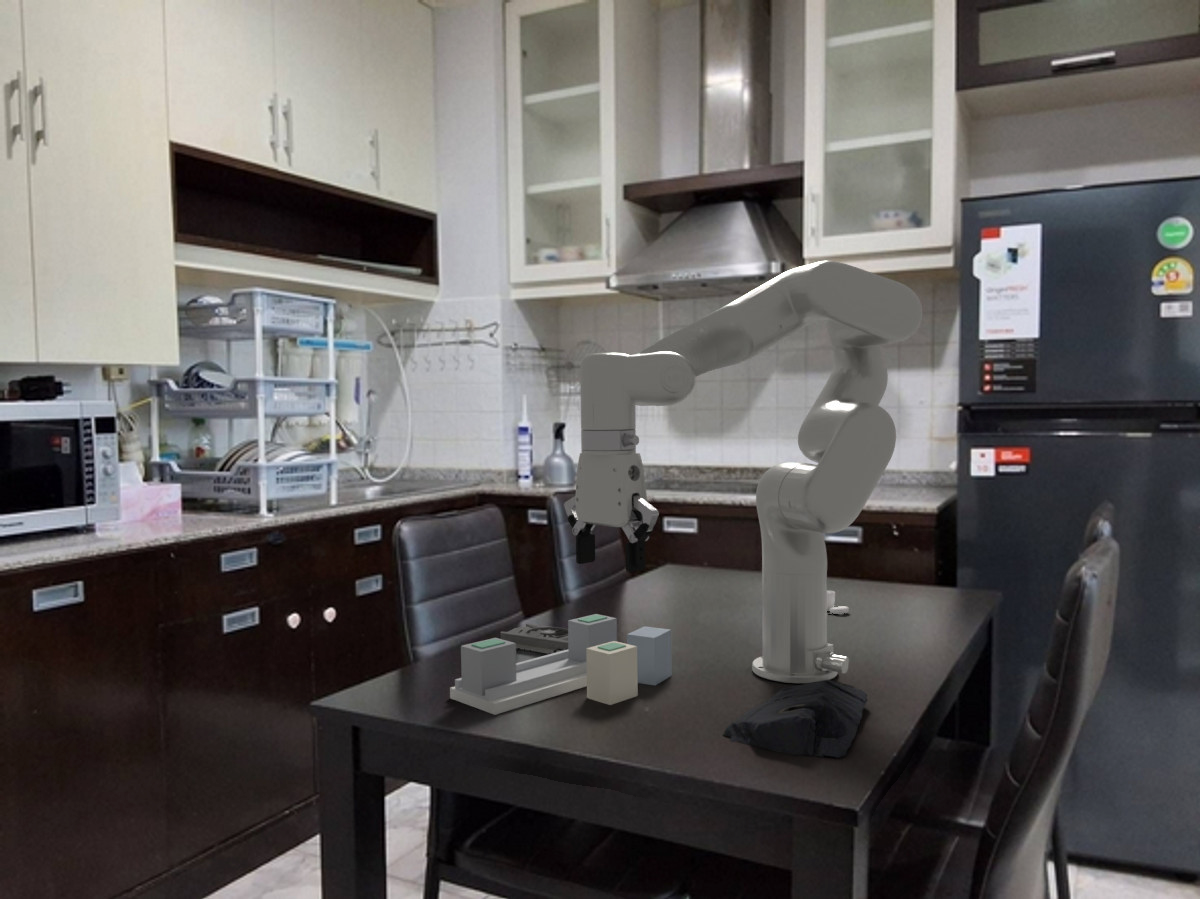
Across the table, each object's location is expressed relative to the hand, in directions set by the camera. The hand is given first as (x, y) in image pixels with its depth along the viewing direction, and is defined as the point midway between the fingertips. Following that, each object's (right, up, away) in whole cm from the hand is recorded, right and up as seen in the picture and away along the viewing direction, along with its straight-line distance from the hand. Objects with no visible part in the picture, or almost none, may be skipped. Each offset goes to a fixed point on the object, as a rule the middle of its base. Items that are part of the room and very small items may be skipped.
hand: (610, 566), depth 126 cm
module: (+6, -18, +9) cm, 21 cm away
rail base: (-10, -18, +6) cm, 21 cm away
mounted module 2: (-2, -16, +13) cm, 21 cm away
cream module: (0, -18, +1) cm, 18 cm away
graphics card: (-9, -18, +28) cm, 35 cm away
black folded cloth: (+25, -19, -11) cm, 33 cm away
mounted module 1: (-17, -17, -1) cm, 24 cm away
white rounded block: (+41, -16, +50) cm, 67 cm away
